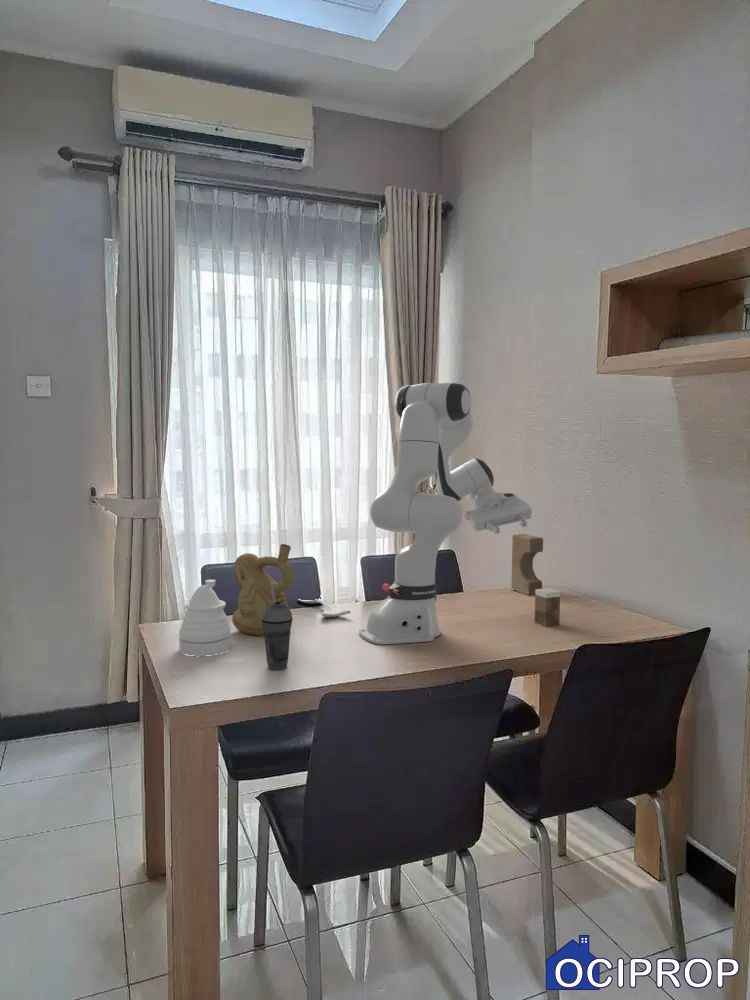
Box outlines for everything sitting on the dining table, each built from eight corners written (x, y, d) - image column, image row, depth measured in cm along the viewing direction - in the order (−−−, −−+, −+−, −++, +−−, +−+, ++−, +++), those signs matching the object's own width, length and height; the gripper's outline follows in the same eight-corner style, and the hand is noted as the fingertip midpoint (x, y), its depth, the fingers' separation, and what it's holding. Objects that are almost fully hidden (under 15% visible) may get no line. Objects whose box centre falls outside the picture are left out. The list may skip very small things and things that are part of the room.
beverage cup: (292, 672, 158) (291, 586, 157) (260, 672, 158) (259, 587, 156) (293, 661, 166) (293, 580, 164) (263, 662, 165) (262, 580, 163)
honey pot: (241, 645, 179) (240, 577, 177) (210, 659, 167) (208, 587, 166) (201, 639, 184) (199, 573, 183) (168, 653, 172) (166, 582, 171)
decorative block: (542, 594, 239) (544, 537, 237) (528, 596, 237) (530, 538, 235) (524, 588, 249) (525, 533, 247) (510, 589, 247) (511, 534, 245)
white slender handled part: (323, 623, 201) (323, 612, 201) (293, 600, 231) (293, 590, 230) (351, 621, 205) (351, 609, 204) (318, 598, 234) (318, 588, 234)
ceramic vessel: (254, 619, 205) (253, 536, 203) (309, 627, 196) (308, 541, 194) (215, 633, 190) (214, 543, 188) (273, 643, 181) (272, 549, 179)
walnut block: (545, 627, 198) (546, 592, 197) (534, 622, 202) (535, 589, 201) (559, 625, 200) (560, 591, 199) (548, 621, 204) (549, 588, 203)
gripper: (462, 505, 220) (480, 526, 209) (519, 492, 225) (541, 512, 213) (462, 521, 223) (480, 543, 212) (518, 508, 228) (539, 529, 217)
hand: (511, 528), depth 213 cm, fingers open, 8 cm apart
